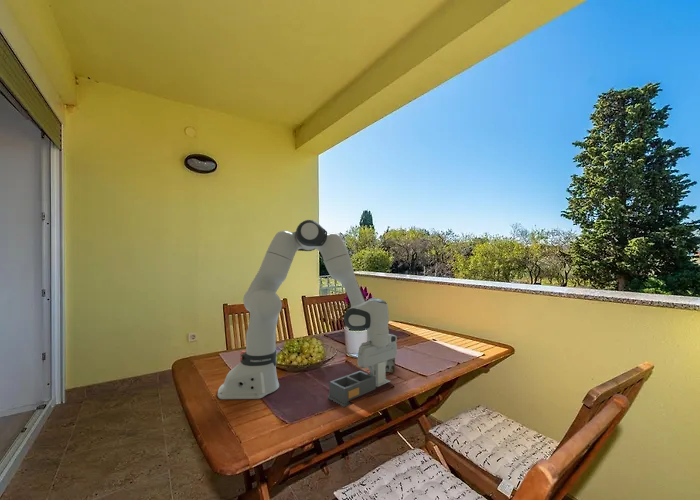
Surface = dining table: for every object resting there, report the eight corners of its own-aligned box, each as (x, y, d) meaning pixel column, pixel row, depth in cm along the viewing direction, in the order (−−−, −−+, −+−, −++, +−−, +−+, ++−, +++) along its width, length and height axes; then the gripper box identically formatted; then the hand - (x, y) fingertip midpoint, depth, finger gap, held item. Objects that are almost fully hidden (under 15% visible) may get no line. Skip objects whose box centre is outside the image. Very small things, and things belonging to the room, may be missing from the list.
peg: (378, 384, 117) (378, 363, 117) (370, 380, 120) (370, 361, 120) (385, 381, 120) (385, 361, 120) (377, 378, 123) (377, 358, 123)
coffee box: (394, 375, 129) (394, 338, 130) (379, 374, 131) (379, 337, 131) (395, 368, 138) (395, 333, 139) (381, 367, 140) (381, 332, 140)
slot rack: (344, 407, 102) (344, 389, 102) (328, 398, 109) (328, 381, 109) (392, 385, 120) (392, 370, 120) (376, 378, 126) (376, 364, 126)
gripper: (365, 345, 111) (365, 383, 111) (399, 336, 125) (399, 369, 125) (353, 342, 116) (353, 377, 116) (387, 333, 130) (387, 365, 129)
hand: (377, 373), depth 120 cm, fingers closed on peg, 4 cm apart
